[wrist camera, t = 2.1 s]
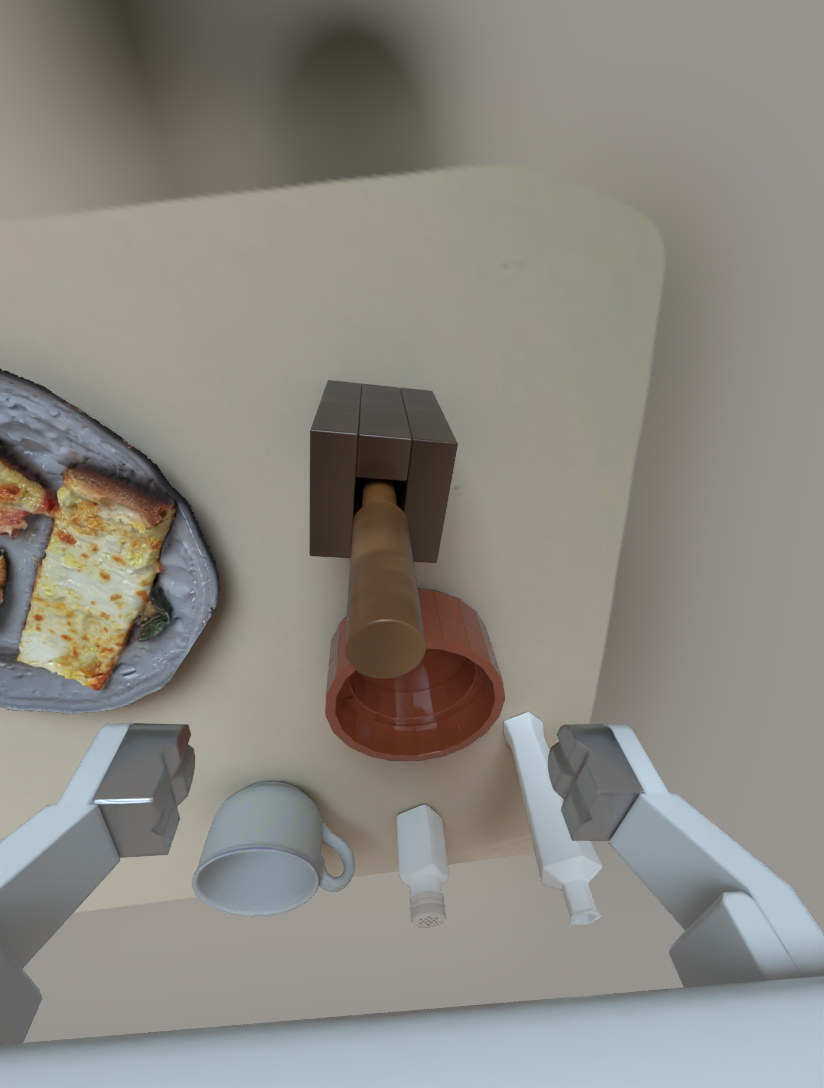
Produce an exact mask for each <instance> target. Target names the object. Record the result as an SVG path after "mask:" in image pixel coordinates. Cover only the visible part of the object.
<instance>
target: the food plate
mask: <svg viewBox="0 0 824 1088" xmlns="http://www.w3.org/2000/svg"><path fill="white" fill-rule="evenodd" d="M190 507H191V506H190V505H189V503H188V501H186V499H185V498H183V497H182V496H181V495H180V494H179V492H177V491H176V489H175V488H172V486H171V484H169V483H168V481H167V479H166V478H165V476H164V475H163V473H161V471H160V469H159V468H158V466H157V464H154V463H153V462H152V461H151V460H150V459H148V458H147V456H146V455H145V454H143V453H141V452H140V450H139V451H138V450H137V449H136V448H134V447H133V446H131V445H128V444H127V442H124V441H123V439H122V438H121V437H120V436H118V435H117V434H116V433H114V432H112V431H111V430H110V429H108V428H107V427H106V426H103V425H102V424H100V423H99V422H98V421H97V420H95V419H93V418H91V417H89V416H88V414H86V413H84V412H83V411H82V410H80V409H79V408H77V407H75V406H73V405H72V404H70V403H68V402H66V401H65V400H63V399H62V398H60V397H59V396H57V395H55V394H54V393H52V392H51V391H50V390H48V389H47V388H45V387H43V386H42V385H39V384H35V383H34V382H32V381H30V380H28V379H27V380H26V379H24V378H23V377H18V376H17V375H14V374H11V373H9V372H8V371H2V370H1V369H0V707H2V708H6V709H8V710H12V711H14V710H15V711H38V712H41V711H42V712H43V711H46V712H56V713H63V714H71V713H88V712H100V711H103V710H107V711H108V710H112V709H115V708H118V707H119V708H120V707H123V706H127V705H128V704H133V703H134V702H135V701H136V702H137V701H138V700H139V699H141V698H143V697H145V696H147V695H149V694H151V693H154V692H157V691H159V689H162V688H163V687H164V684H165V683H166V682H167V681H169V682H170V680H171V679H172V677H173V676H174V674H175V673H174V672H176V671H177V670H176V669H178V668H179V667H178V666H180V663H182V661H183V660H184V658H185V657H186V655H187V654H188V652H189V651H190V649H191V647H192V646H193V644H194V643H195V641H196V640H197V638H198V636H199V635H200V633H201V632H202V631H201V629H202V630H203V629H204V627H205V625H206V624H207V622H208V621H209V620H208V619H210V617H211V616H212V615H211V612H213V611H211V609H214V611H215V609H216V606H217V605H216V604H217V602H216V601H217V598H218V595H219V594H218V592H219V589H220V588H219V587H220V586H219V583H218V582H219V578H218V577H219V576H218V572H217V568H216V564H215V563H216V562H215V560H213V557H212V553H211V552H210V550H209V547H208V545H207V544H206V541H205V539H204V537H203V535H202V532H201V530H199V528H200V527H199V526H198V522H197V521H196V520H195V518H196V517H195V516H194V513H193V512H192V509H191V508H190ZM207 620H208V621H207ZM206 621H207V622H206ZM172 675H173V676H172ZM170 678H171V679H170ZM169 679H170V680H169ZM169 682H168V683H169ZM168 683H167V684H168ZM164 688H165V687H164Z"/></svg>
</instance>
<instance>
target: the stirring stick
mask: <svg viewBox="0 0 824 1088" xmlns="http://www.w3.org/2000/svg"><path fill="white" fill-rule="evenodd" d="M425 651H426V642H425V635H424V629H423V622H422V615H421V608H420V601H419V595H418V588H417V581H416V574H415V567H414V561H413V554H412V547H411V540H410V533H409V527H408V521H407V517H406V515H405V514H404V512H403V511H402V510H401V509H400V508H399V507H398V506H397V500H396V491H395V482H394V480H388V479H375V478H363V498H362V508H361V509H360V510H359V511H358V512H357V514H356V515H355V517H354V520H353V529H352V544H351V560H350V575H349V591H348V606H347V622H346V637H345V655H346V658H347V660H348V662H349V663H350V665H351V666H352V667H353V668H354V669H355V670H356V671H358V672H359V673H361V674H363V675H366V676H369V677H372V678H380V679H388V678H395V677H399V676H402V675H404V674H406V673H408V672H410V671H412V670H413V669H414V668H415V667H417V666H418V665H419V663H420V662H421V660H422V659H423V657H424V654H425Z"/></svg>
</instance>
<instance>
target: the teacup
mask: <svg viewBox="0 0 824 1088" xmlns="http://www.w3.org/2000/svg"><path fill="white" fill-rule="evenodd" d="M321 842H323V843H325V844H327V845H328V846H330V847H331V848H333V849H334V850H335V851H336V852H337V853H338V854H339V856H340V857H341V859H342V861H343V864H344V872H343V874H342V875H341V876H339V877H333V876H331V875H329V873H328V872H327V870H326V868H325V865H324V859H323V857H322V856H321ZM354 869H355V861H354V856H353V853H352V851H351V849H350V847H349V846H348V845H347V844H346V842H345V841H343V840H342V839H341V838H340V837H339V836H337V835H336V834H335V833H333V832H332V831H331V830H330V829H329V828H328V825H327V824H326V822H324V821H321V816H320V813H319V810H318V808H317V806H316V804H315V803H314V802H313V800H312V799H311V798H310V797H308V796H307V795H306V794H305V793H303V792H302V791H301V790H300V789H299V788H297V787H295V786H293V785H290V784H287V783H284V782H276V781H268V782H261V783H257V784H254V785H251V786H249V787H247V788H246V789H243V790H241V791H239V792H237V793H236V794H234V795H232V796H231V797H230V798H228V799H227V800H226V801H225V802H224V803H223V805H222V806H221V807H220V808H219V810H218V812H217V813H216V815H215V817H214V819H213V822H212V824H211V827H210V830H209V833H208V836H207V839H206V842H205V845H204V848H203V851H202V854H201V858H200V861H199V865H198V868H197V870H196V871H195V873H194V876H193V880H192V886H193V890H194V892H195V894H196V896H197V897H198V898H199V899H200V900H201V901H202V902H204V903H205V904H207V905H209V906H211V907H213V908H215V909H217V910H220V911H222V912H227V913H230V914H234V915H241V916H266V915H274V914H280V913H283V912H287V911H290V910H293V909H295V908H297V907H299V906H301V905H303V904H304V903H306V902H307V901H308V900H309V899H310V898H311V897H312V896H313V895H314V894H315V893H316V891H317V889H318V887H319V886H320V887H322V888H323V889H325V890H327V891H330V892H338V891H340V890H342V889H344V888H345V887H346V886H347V885H348V884H349V882H350V881H351V879H352V876H353V873H354Z"/></svg>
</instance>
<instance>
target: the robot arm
mask: <svg viewBox="0 0 824 1088" xmlns="http://www.w3.org/2000/svg"><path fill="white" fill-rule="evenodd" d="M190 736H191V733H190V729H189V725H186V724H141V723H107V724H106V725H105V726H104V727H103V728H102V729H101V730H100V731H99V732H98V733H97V735H96V737H95V739H94V740H93V742H92V744H91V746H90V747H89V749H88V751H87V753H86V754H85V756H84V758H83V760H82V761H81V763H80V765H79V766H78V768H77V770H76V772H75V773H74V775H73V777H72V779H71V780H70V782H69V784H68V786H67V787H66V789H65V791H64V793H63V794H62V796H61V798H60V799H59V801H58V803H57V805H47V806H46V807H45V808H43V809H42V810H41V811H40V812H38V813H37V814H36V815H34V816H33V817H32V818H30V819H29V820H28V821H27V822H25V823H24V824H23V825H21V826H20V827H19V828H18V829H16V830H15V831H14V832H12V833H11V834H10V835H8V836H7V837H6V838H5V839H3V840H2V841H1V842H0V1088H824V934H823V933H822V931H821V929H820V928H819V926H818V925H817V923H816V922H815V920H814V919H813V918H812V916H811V915H810V913H809V912H808V910H807V909H806V908H805V906H804V904H803V903H802V902H801V900H800V899H799V897H798V896H797V894H796V893H795V891H794V890H793V888H792V887H791V886H789V885H788V884H787V883H786V882H785V881H783V880H782V879H781V878H780V877H779V876H777V875H776V874H775V873H774V872H772V871H771V870H770V869H769V868H767V867H766V866H765V865H764V864H762V863H761V862H760V861H759V860H758V859H756V858H755V857H754V856H752V855H751V854H750V853H749V852H748V851H746V850H745V849H744V848H743V847H741V846H740V845H739V844H738V843H736V842H735V841H734V840H733V839H732V838H730V837H729V836H728V835H727V834H725V833H724V832H723V831H722V830H720V829H719V828H718V827H717V826H715V825H714V824H713V823H712V822H710V821H709V820H708V819H707V818H706V817H704V816H703V815H702V814H701V813H699V812H698V811H697V810H696V809H694V808H693V807H692V806H691V805H689V804H688V803H687V802H686V801H684V800H683V799H682V798H681V797H680V796H678V795H677V794H676V793H669V792H668V790H667V789H666V787H665V785H664V784H663V782H662V780H661V778H660V777H659V775H658V774H657V772H656V770H655V768H654V766H653V765H652V763H651V761H650V760H649V758H648V756H647V754H646V753H645V751H644V749H643V748H642V746H641V744H640V742H639V741H638V739H637V737H636V736H635V734H634V732H633V731H632V729H631V728H630V727H628V726H627V725H603V724H574V725H563V726H562V727H560V729H559V731H558V733H557V736H558V739H559V742H558V743H556V744H555V745H554V746H552V747H551V750H550V752H549V755H548V772H549V778H550V781H551V784H552V787H553V790H554V791H555V792H556V793H557V794H558V795H559V796H560V797H561V798H562V799H564V800H563V804H562V807H561V812H562V815H563V817H564V820H565V823H566V826H567V828H568V831H569V834H570V836H571V839H572V841H609V844H610V845H611V847H612V848H613V849H614V850H615V851H616V852H617V853H618V855H619V856H620V857H621V858H622V859H623V860H624V861H625V862H626V864H627V865H628V866H629V867H630V868H631V869H632V870H633V872H634V873H635V874H636V875H637V876H638V877H639V879H640V880H641V881H642V882H643V883H644V884H645V885H646V886H647V888H648V889H649V890H650V891H651V892H652V893H653V894H654V896H655V897H656V898H657V899H658V900H659V901H660V902H661V904H662V905H663V906H664V907H665V908H666V909H667V910H668V912H669V913H670V914H671V915H672V916H673V917H674V918H675V920H676V921H677V922H678V923H679V924H680V925H681V926H682V928H683V929H684V930H685V932H684V933H683V934H682V935H681V936H680V937H679V938H678V939H677V940H676V941H675V942H674V943H673V944H672V945H671V949H670V951H669V954H670V956H671V959H672V961H673V963H674V966H675V968H676V970H677V972H678V975H679V977H680V979H681V982H682V984H683V986H684V988H675V989H664V990H663V989H662V990H651V991H638V992H627V993H614V994H603V995H591V996H579V997H567V998H555V999H543V1000H531V1001H519V1002H507V1003H495V1004H483V1005H471V1006H459V1007H447V1008H436V1009H423V1010H412V1011H399V1012H388V1013H375V1014H363V1015H351V1016H339V1017H327V1018H317V1019H304V1020H291V1021H280V1022H269V1023H255V1024H243V1025H232V1026H220V1027H208V1028H197V1029H184V1030H172V1031H160V1032H148V1033H137V1034H124V1035H112V1036H100V1037H89V1038H76V1039H64V1040H52V1041H40V1042H28V1043H23V1042H24V1040H25V1037H26V1035H27V1033H28V1030H29V1028H30V1025H31V1023H32V1021H33V1018H34V1016H35V1014H36V1012H37V1009H38V1007H39V1005H40V1002H41V1000H42V996H41V993H40V990H39V988H38V987H37V986H36V985H35V983H34V982H33V981H32V980H31V979H30V977H29V976H28V975H27V974H26V973H25V972H24V970H23V968H24V966H25V965H26V964H27V963H28V962H29V961H30V960H31V959H32V958H33V956H34V955H35V954H36V953H37V952H38V951H39V950H40V949H41V948H42V947H43V945H44V944H45V943H46V942H47V941H48V940H49V939H50V938H51V936H52V935H53V934H54V933H55V932H56V931H57V930H58V929H59V928H60V927H61V926H62V925H63V923H64V922H65V921H66V920H67V919H68V918H69V916H71V915H72V913H73V912H74V911H75V910H76V909H77V908H78V907H79V906H80V905H81V904H82V902H83V901H84V900H85V899H86V898H87V897H88V896H89V895H90V894H91V893H92V891H93V890H94V889H95V888H96V887H97V886H98V885H99V884H100V883H101V881H102V880H103V879H104V878H105V877H106V876H107V875H108V874H109V873H110V872H111V870H112V869H113V868H114V867H115V866H116V865H117V864H118V863H119V862H120V858H122V857H138V856H155V855H168V853H169V850H170V847H171V844H172V841H173V838H174V835H175V832H176V829H177V826H178V823H179V820H180V817H179V813H178V808H177V806H178V805H179V804H180V803H181V802H182V801H183V800H184V799H185V798H186V797H187V796H188V793H189V790H190V787H191V784H192V780H193V774H194V769H195V753H194V748H192V747H191V746H190V745H188V742H189V739H190Z"/></svg>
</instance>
